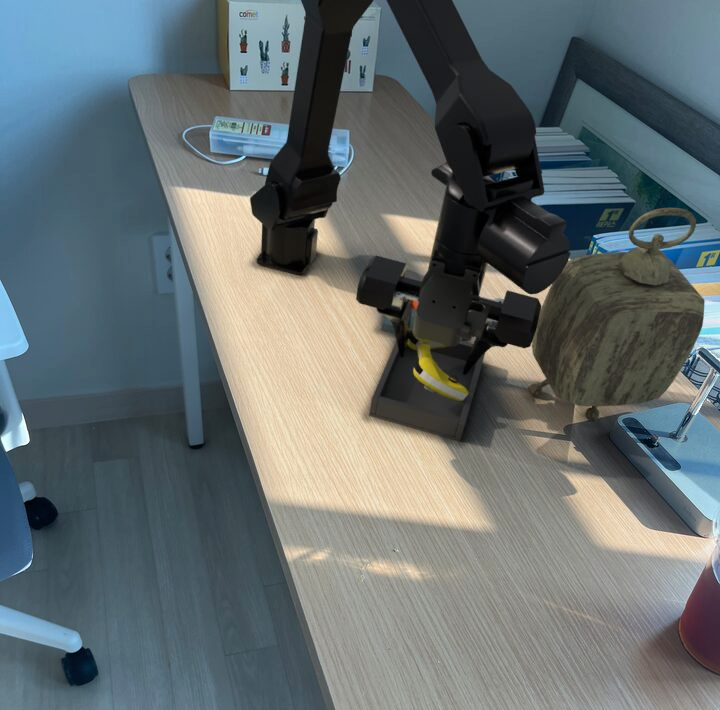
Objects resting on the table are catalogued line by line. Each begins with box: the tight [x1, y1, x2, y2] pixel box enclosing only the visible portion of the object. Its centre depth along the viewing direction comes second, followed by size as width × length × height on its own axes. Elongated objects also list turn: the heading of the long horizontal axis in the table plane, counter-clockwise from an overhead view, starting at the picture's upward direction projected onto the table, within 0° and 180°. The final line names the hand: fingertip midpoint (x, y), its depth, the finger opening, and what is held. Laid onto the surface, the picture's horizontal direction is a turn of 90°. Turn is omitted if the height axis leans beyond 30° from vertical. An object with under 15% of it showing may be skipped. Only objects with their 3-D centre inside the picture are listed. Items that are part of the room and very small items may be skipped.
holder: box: [368, 327, 486, 443], centre depth 87 cm, size 10×14×3 cm
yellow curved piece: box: [408, 331, 468, 401], centre depth 85 cm, size 10×6×4 cm, turn 5°
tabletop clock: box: [528, 207, 706, 422], centre depth 80 cm, size 14×9×25 cm, turn 102°
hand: (433, 363), depth 85 cm, fingers closed on yellow curved piece, 7 cm apart
